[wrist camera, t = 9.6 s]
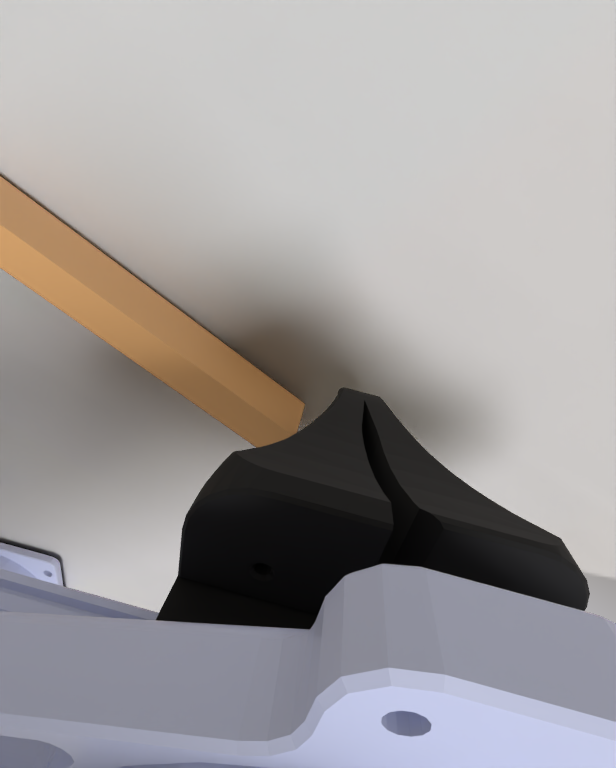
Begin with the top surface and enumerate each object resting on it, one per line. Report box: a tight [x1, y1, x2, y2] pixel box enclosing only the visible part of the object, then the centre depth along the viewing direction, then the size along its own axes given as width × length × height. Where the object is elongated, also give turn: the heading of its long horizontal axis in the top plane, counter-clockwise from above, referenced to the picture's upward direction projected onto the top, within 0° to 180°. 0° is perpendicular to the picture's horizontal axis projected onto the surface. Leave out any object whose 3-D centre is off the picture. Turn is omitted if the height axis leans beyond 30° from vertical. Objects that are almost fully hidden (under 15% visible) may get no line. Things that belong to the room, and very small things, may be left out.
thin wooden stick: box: [0, 176, 305, 447], centre depth 11 cm, size 15×1×3 cm, turn 52°
